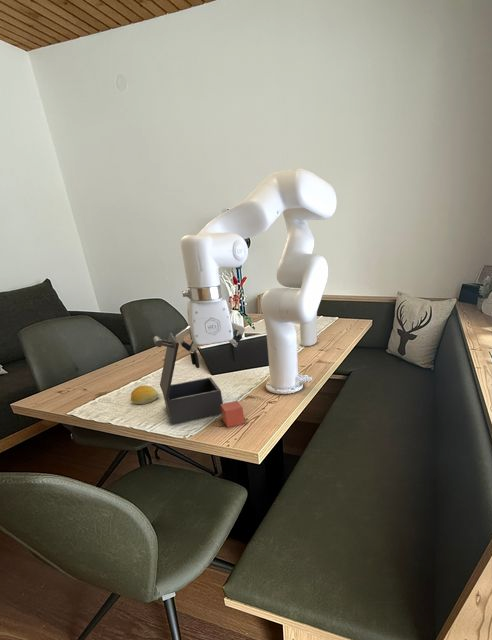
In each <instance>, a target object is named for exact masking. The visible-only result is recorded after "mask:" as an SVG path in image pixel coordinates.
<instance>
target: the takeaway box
mask: <svg viewBox="0 0 492 640" xmlns="http://www.w3.org/2000/svg"><path fill="white" fill-rule="evenodd" d="M162 395H163V394H162ZM163 400H164V405H165V408H166V411H167V414H168V417H169V419H170V422H171V425H173V426H174V425H178V424H181V423H186V422H191V421H194V420H199V419H204V418H209V417H212V416H213V417H214V416H217V415H222V413H221V406H220V404H224V403H223V396H222V390H221V389H220V387H219V386H218V384H217V383H216V382H215V381H214V379H213V378H212V377H211V376H210V377H205V378H199V379H193V380H189V381H184V382H177V383H171V387H170V392H169V397H168V400H165V398H164V395H163Z"/></svg>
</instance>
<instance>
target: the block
mask: <svg viewBox="0 0 492 640" xmlns="http://www.w3.org/2000/svg"><path fill="white" fill-rule="evenodd" d="M220 406H221V413H222V414H221V418H222V419H221V420H222V421H223V423H224V424H225V425H226V427H227V428H230V427H234V426H235V427H236V426H239V425H243V424H245V415H244V409H243V405H241V403H240V402H239V401H238V400H234V401H229V402H224V403H223V404H220Z"/></svg>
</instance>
